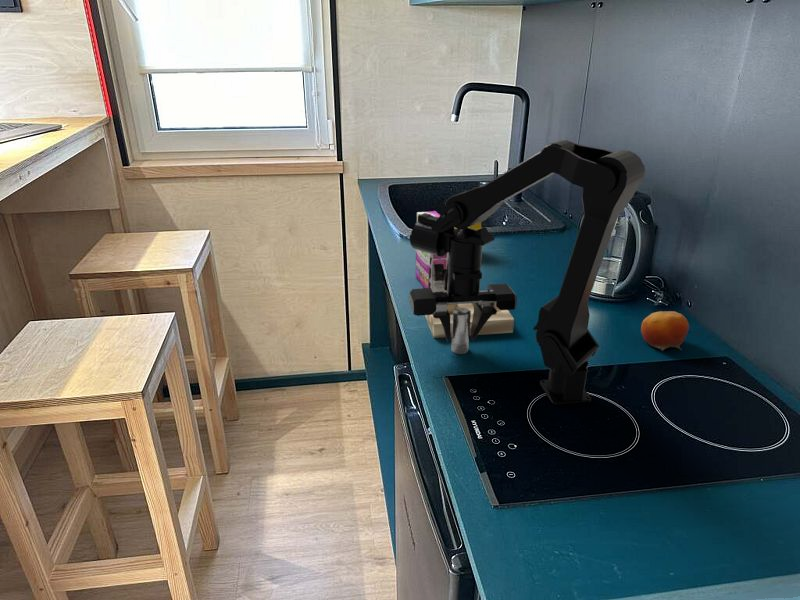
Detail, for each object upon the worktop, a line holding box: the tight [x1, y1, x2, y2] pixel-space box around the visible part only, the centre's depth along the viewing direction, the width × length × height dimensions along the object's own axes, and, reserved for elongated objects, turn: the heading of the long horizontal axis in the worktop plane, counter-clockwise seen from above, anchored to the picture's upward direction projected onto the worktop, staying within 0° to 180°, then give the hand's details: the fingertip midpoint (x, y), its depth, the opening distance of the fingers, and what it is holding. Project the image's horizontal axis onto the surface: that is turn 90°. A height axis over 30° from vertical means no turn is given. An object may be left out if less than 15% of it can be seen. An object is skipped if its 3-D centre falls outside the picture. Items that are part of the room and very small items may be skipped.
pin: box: [450, 308, 471, 355], centre depth 104 cm, size 3×3×8 cm
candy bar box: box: [415, 210, 449, 295], centre depth 129 cm, size 11×5×16 cm, turn 15°
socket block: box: [424, 303, 515, 339], centre depth 115 cm, size 12×16×3 cm
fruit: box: [640, 310, 690, 352], centre depth 106 cm, size 8×8×8 cm
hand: (460, 340), depth 105 cm, fingers open, 4 cm apart
